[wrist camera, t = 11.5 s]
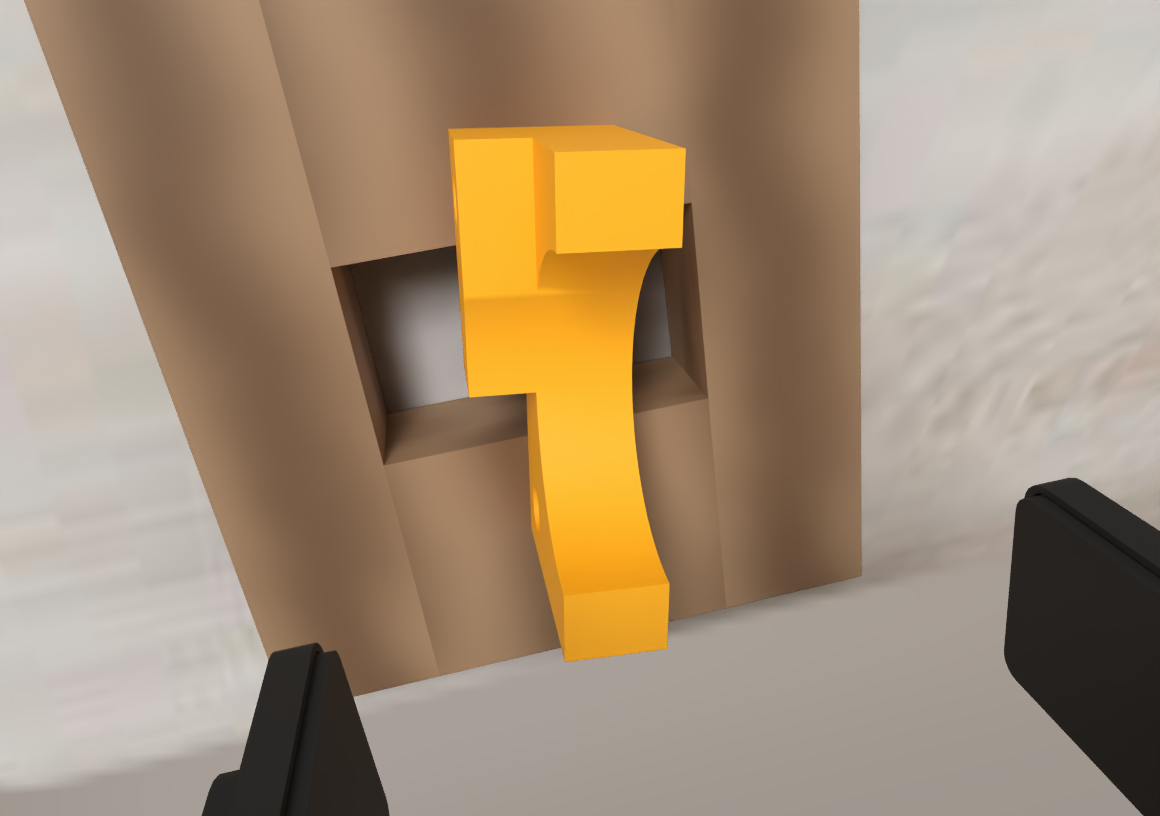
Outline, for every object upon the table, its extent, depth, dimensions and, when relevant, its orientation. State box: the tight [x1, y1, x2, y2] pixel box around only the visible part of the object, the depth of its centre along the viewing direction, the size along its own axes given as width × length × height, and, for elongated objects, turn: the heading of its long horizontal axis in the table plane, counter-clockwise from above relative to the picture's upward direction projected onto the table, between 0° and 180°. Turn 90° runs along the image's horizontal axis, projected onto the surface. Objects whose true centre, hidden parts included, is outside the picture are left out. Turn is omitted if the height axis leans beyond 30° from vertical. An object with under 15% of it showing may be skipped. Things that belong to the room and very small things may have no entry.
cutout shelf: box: [24, 0, 862, 697], centre depth 26 cm, size 20×22×4 cm
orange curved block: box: [448, 125, 686, 662], centre depth 21 cm, size 12×4×6 cm, turn 1°
